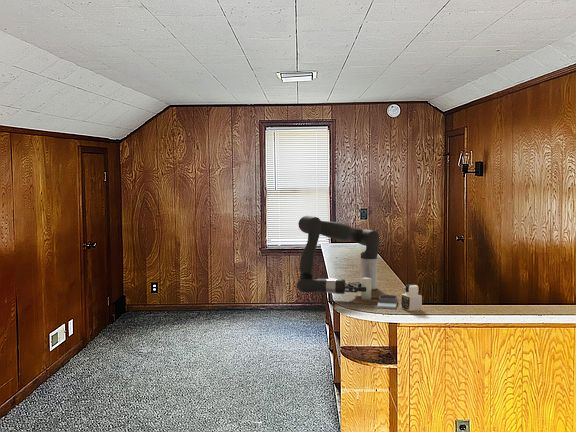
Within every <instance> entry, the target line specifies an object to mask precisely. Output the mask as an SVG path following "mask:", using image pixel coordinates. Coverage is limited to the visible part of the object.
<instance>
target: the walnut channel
mask: <svg viewBox="0 0 576 432" xmlns="http://www.w3.org/2000/svg"><path fill="white" fill-rule="evenodd" d="M379 297H380V296H373V295H371V300H363V299H361V295H355V298H353V300H352V302H353V304H363V305H364V304H365V305H366V304H367V305H369V304H370V305H378V302H379Z"/></svg>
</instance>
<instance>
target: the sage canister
mask: <svg viewBox="0 0 576 432" xmlns="http://www.w3.org/2000/svg"><path fill="white" fill-rule="evenodd" d="M361 287H366V292H361V291H360V293H361V295H360V296H361V299H363V300H371V296H372V290H371V278H362V283H361Z"/></svg>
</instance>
